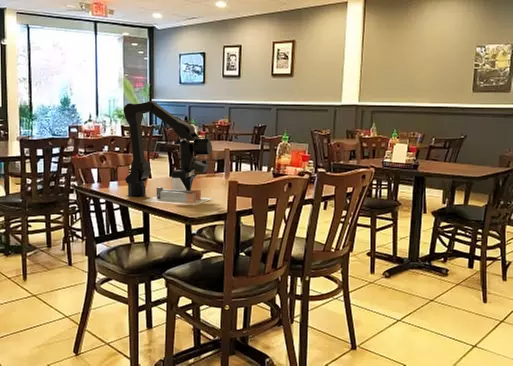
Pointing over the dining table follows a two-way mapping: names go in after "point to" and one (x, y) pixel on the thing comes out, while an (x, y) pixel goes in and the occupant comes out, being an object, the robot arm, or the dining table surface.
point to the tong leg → (198, 192)
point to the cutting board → (177, 201)
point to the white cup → (177, 184)
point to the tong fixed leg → (178, 196)
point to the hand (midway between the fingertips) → (188, 191)
